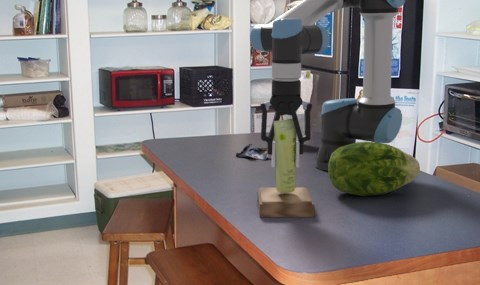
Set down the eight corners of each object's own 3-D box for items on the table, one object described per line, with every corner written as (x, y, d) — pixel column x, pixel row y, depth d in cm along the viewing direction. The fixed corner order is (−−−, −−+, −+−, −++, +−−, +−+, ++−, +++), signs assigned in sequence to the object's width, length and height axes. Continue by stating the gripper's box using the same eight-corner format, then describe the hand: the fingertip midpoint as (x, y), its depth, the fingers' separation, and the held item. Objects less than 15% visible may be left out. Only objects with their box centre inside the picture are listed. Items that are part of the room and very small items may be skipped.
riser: (307, 200, 176) (307, 186, 175) (313, 216, 162) (314, 202, 161) (257, 200, 175) (257, 187, 175) (259, 217, 162) (259, 202, 161)
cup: (308, 147, 243) (309, 113, 240) (282, 147, 243) (283, 113, 241) (306, 141, 253) (306, 109, 250) (281, 141, 253) (281, 109, 250)
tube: (292, 194, 164) (292, 121, 160) (273, 193, 166) (273, 120, 162) (296, 188, 169) (297, 117, 165) (278, 187, 171) (278, 117, 167)
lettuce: (427, 200, 176) (431, 146, 173) (335, 203, 173) (337, 148, 170) (407, 185, 191) (410, 135, 187) (322, 188, 188) (323, 137, 184)
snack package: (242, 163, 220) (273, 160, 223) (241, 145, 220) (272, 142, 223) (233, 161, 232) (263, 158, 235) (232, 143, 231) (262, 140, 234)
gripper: (320, 77, 165) (318, 162, 170) (249, 77, 165) (249, 163, 170) (324, 80, 158) (322, 169, 163) (250, 81, 158) (250, 170, 163)
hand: (285, 166), depth 166 cm, fingers closed on tube, 6 cm apart
